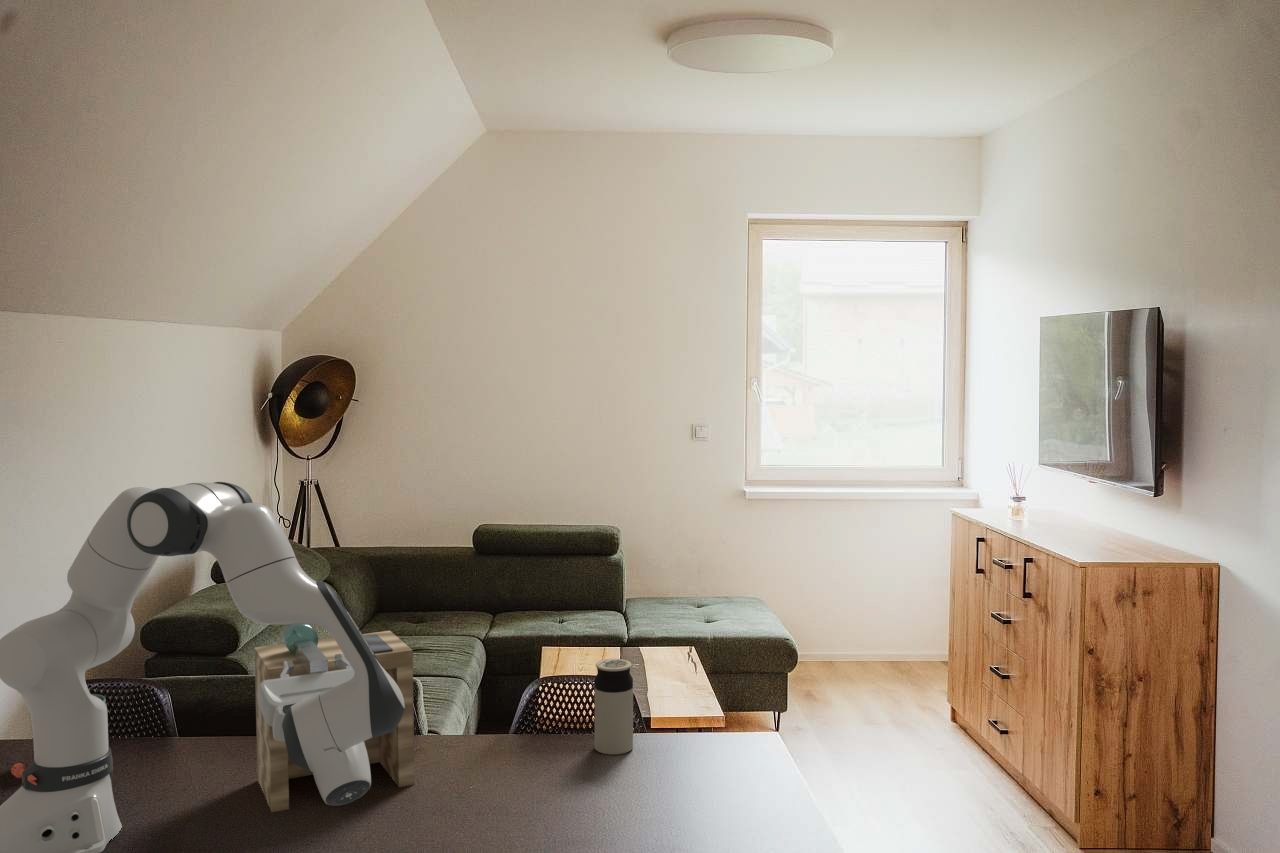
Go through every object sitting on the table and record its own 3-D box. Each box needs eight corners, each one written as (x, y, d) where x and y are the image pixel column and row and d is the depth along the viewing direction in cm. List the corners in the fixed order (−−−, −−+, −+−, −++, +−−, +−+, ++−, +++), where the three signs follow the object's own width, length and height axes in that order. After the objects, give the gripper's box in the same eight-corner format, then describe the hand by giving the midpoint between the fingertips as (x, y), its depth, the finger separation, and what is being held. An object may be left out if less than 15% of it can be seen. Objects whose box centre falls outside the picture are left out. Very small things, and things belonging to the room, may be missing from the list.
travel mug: (640, 746, 218) (640, 661, 217) (619, 758, 212) (619, 671, 210) (608, 739, 223) (608, 656, 221) (587, 750, 216) (586, 665, 215)
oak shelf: (414, 784, 199) (412, 647, 197) (271, 812, 186) (268, 667, 185) (391, 756, 213) (389, 628, 211) (257, 780, 201) (254, 645, 199)
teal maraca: (335, 675, 182) (335, 643, 181) (302, 679, 179) (302, 647, 178) (312, 647, 199) (312, 618, 199) (282, 651, 196) (281, 621, 196)
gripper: (392, 695, 178) (374, 639, 188) (266, 715, 168) (254, 654, 178) (388, 721, 181) (370, 664, 191) (264, 742, 171) (252, 680, 181)
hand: (313, 659), depth 184 cm, fingers open, 7 cm apart
